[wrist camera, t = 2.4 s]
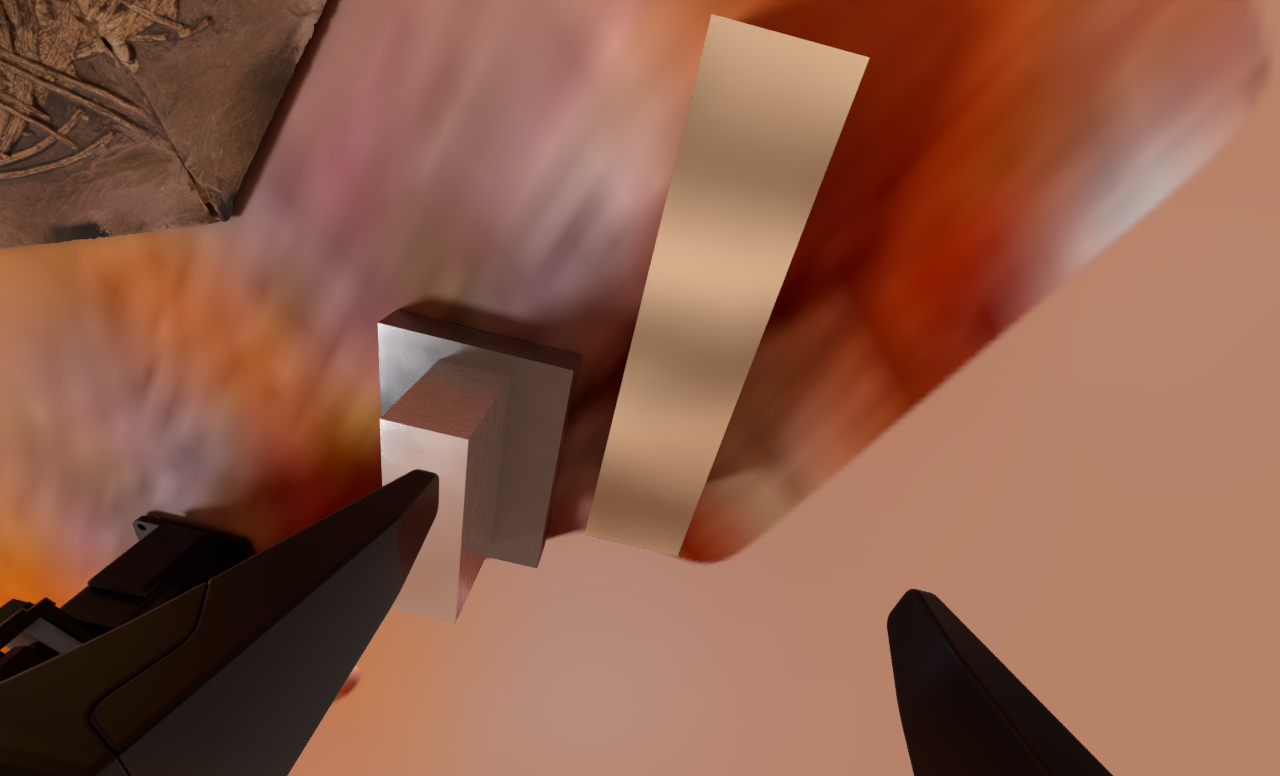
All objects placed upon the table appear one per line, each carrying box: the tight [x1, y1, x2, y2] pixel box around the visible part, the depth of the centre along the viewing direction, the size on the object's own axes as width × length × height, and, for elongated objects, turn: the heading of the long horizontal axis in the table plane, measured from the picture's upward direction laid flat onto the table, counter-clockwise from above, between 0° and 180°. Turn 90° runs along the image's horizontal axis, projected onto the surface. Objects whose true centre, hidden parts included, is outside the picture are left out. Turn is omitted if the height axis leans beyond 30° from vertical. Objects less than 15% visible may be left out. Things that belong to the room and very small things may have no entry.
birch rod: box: [585, 14, 870, 556], centre depth 19 cm, size 18×4×4 cm, turn 167°
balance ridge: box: [378, 310, 581, 623], centre depth 22 cm, size 12×8×6 cm, turn 167°
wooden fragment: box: [0, 0, 327, 248], centre depth 18 cm, size 26×11×1 cm, turn 111°
